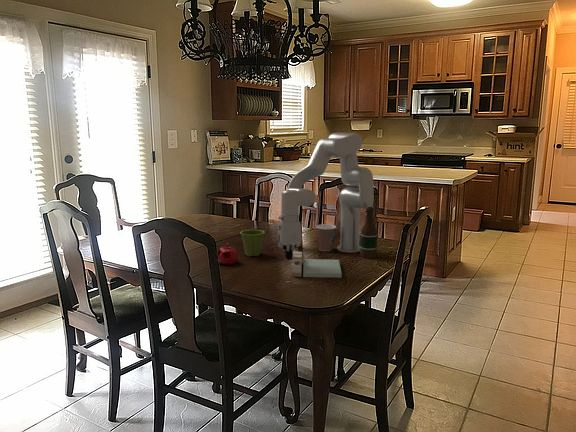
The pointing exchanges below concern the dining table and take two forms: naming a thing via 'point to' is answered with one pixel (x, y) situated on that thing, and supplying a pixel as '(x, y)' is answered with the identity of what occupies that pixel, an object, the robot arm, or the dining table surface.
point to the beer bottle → (368, 236)
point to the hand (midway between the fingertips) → (288, 259)
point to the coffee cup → (326, 236)
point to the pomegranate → (227, 255)
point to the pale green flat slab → (321, 268)
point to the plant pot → (252, 241)
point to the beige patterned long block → (297, 264)
